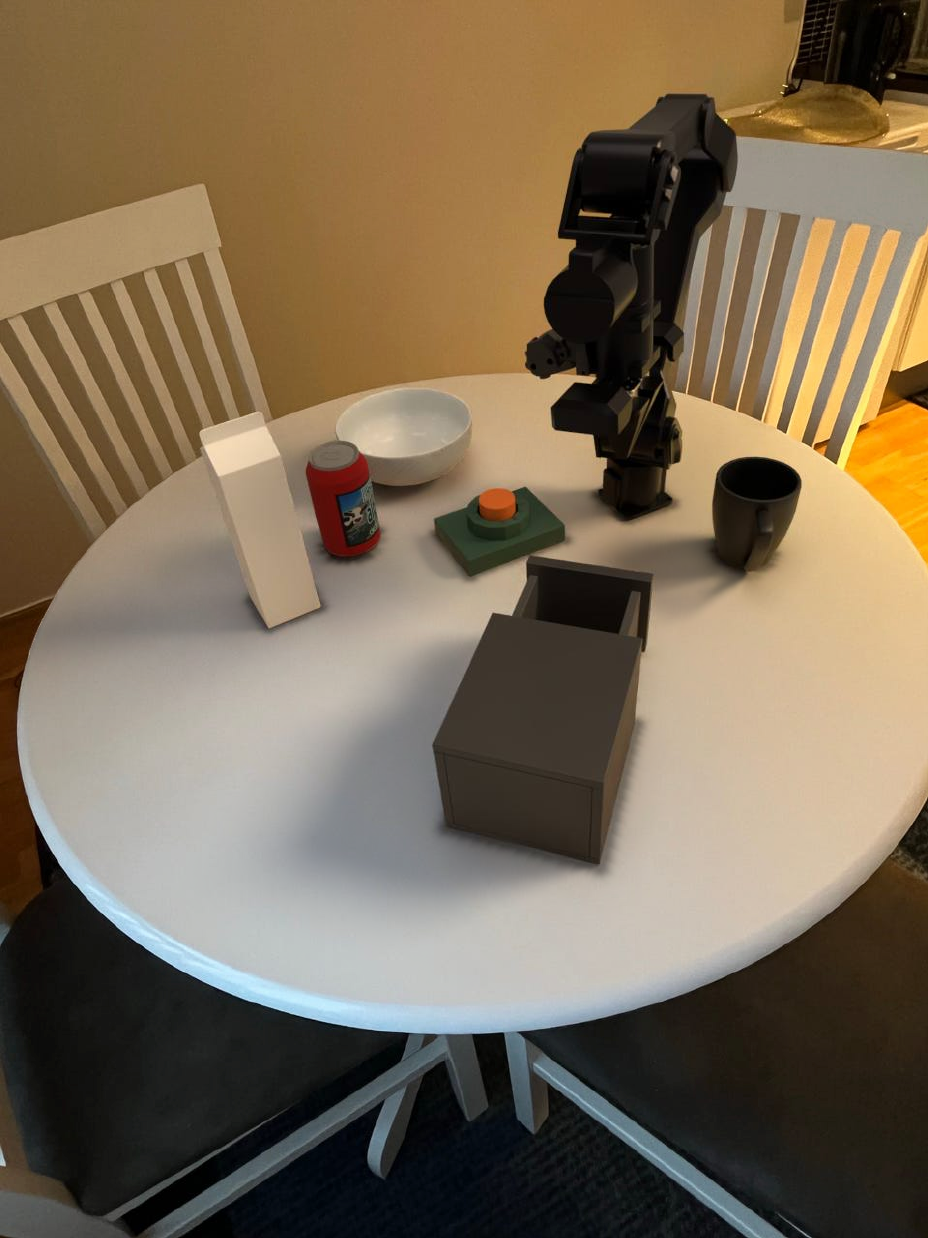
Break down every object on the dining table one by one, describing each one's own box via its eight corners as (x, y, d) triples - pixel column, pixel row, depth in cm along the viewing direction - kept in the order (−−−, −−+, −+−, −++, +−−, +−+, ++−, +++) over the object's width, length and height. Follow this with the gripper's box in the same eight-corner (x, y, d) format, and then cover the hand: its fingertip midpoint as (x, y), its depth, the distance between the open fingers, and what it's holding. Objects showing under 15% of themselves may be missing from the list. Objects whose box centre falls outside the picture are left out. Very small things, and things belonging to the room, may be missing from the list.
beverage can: (372, 563, 93) (354, 472, 85) (315, 559, 95) (292, 469, 86) (388, 527, 98) (372, 438, 90) (334, 524, 99) (313, 435, 91)
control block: (526, 501, 100) (525, 473, 97) (565, 540, 94) (565, 511, 91) (435, 533, 96) (431, 505, 94) (469, 576, 90) (467, 547, 88)
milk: (321, 608, 89) (274, 424, 73) (267, 630, 87) (208, 446, 72) (300, 577, 93) (252, 397, 77) (249, 597, 91) (188, 417, 76)
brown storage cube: (499, 696, 77) (492, 612, 70) (634, 723, 74) (642, 637, 66) (445, 826, 67) (431, 744, 60) (599, 865, 64) (604, 783, 57)
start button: (505, 496, 94) (504, 483, 93) (522, 514, 92) (521, 501, 90) (473, 508, 93) (472, 495, 92) (490, 526, 91) (489, 513, 89)
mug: (706, 599, 85) (718, 523, 78) (704, 527, 93) (714, 454, 87) (791, 604, 83) (811, 527, 77) (781, 531, 92) (797, 457, 85)
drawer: (542, 597, 85) (541, 528, 80) (654, 615, 82) (661, 545, 76) (490, 725, 74) (484, 656, 68) (618, 753, 70) (624, 682, 64)
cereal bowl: (354, 517, 100) (343, 467, 95) (337, 448, 112) (327, 400, 107) (490, 489, 102) (486, 439, 97) (459, 424, 114) (454, 376, 109)
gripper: (576, 259, 82) (583, 406, 91) (488, 333, 70) (507, 493, 80) (688, 261, 77) (683, 417, 86) (613, 342, 65) (617, 511, 75)
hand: (622, 457), depth 82 cm, fingers closed
